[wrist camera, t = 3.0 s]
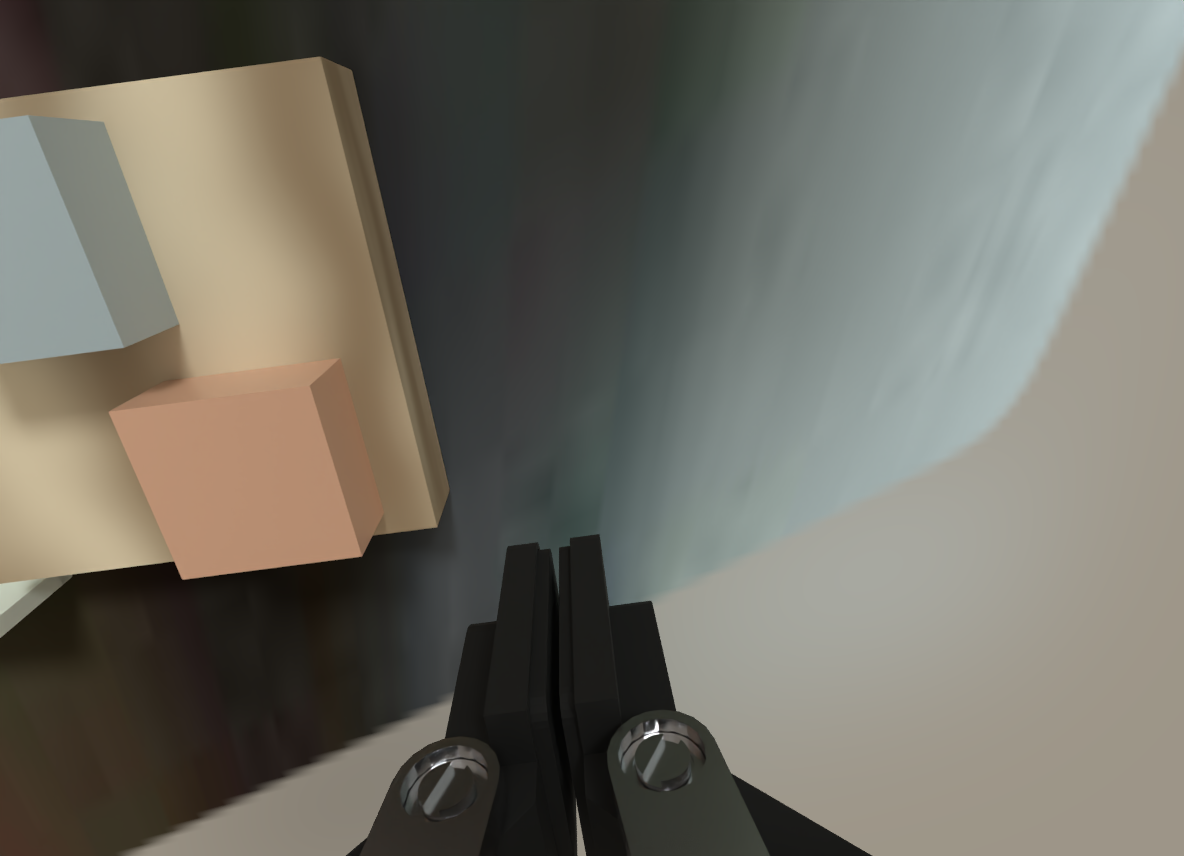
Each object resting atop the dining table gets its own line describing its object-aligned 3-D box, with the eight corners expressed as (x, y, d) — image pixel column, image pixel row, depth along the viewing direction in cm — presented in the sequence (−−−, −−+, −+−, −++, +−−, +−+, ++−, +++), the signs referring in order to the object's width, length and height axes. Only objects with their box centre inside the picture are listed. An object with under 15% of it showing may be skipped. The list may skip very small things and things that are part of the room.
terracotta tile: (340, 357, 18) (309, 385, 16) (384, 512, 20) (361, 556, 18) (163, 380, 18) (108, 411, 16) (224, 533, 20) (182, 579, 18)
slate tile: (103, 121, 16) (27, 114, 13) (179, 324, 18) (124, 347, 15) (-101, 148, 16) (-211, 146, 13) (-3, 348, 18) (-84, 375, 15)
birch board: (351, 70, 18) (320, 56, 15) (449, 489, 23) (437, 527, 20) (-155, 137, 18) (-263, 134, 15) (53, 540, 23) (-4, 584, 20)
